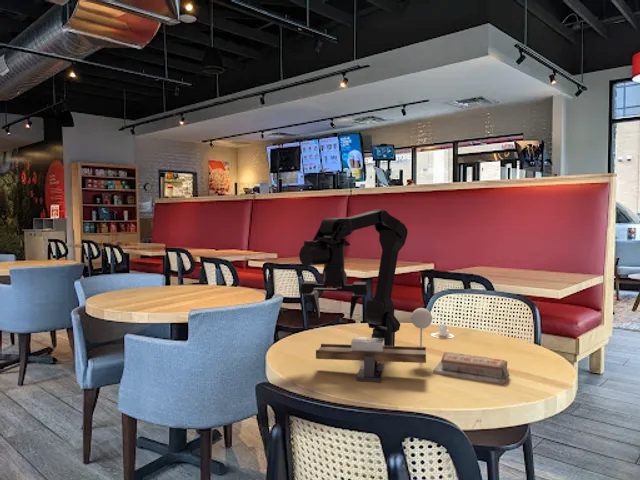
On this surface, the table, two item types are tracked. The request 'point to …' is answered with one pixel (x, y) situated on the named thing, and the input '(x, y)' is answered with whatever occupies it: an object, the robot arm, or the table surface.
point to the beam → (373, 353)
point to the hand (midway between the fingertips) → (334, 318)
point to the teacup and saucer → (443, 331)
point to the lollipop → (421, 320)
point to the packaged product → (473, 367)
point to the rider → (367, 344)
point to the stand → (370, 370)
